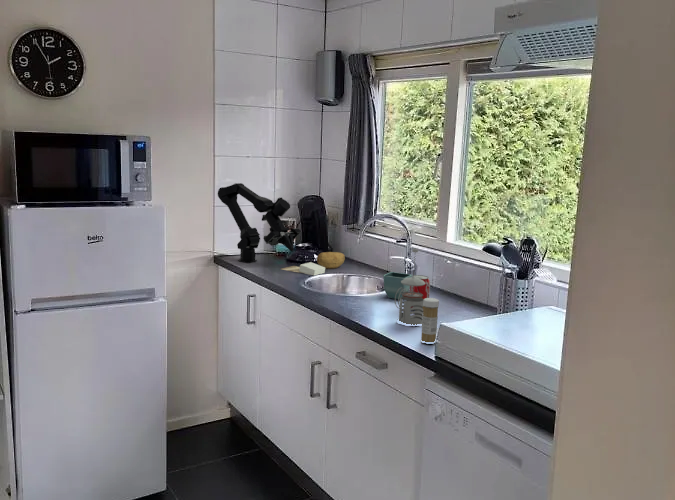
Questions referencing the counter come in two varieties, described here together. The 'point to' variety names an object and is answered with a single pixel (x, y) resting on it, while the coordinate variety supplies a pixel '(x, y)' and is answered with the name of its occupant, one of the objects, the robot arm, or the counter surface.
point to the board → (292, 269)
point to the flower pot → (395, 284)
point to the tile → (311, 269)
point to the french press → (411, 301)
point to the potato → (330, 259)
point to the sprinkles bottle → (429, 319)
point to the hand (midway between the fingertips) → (292, 250)
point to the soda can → (422, 287)
